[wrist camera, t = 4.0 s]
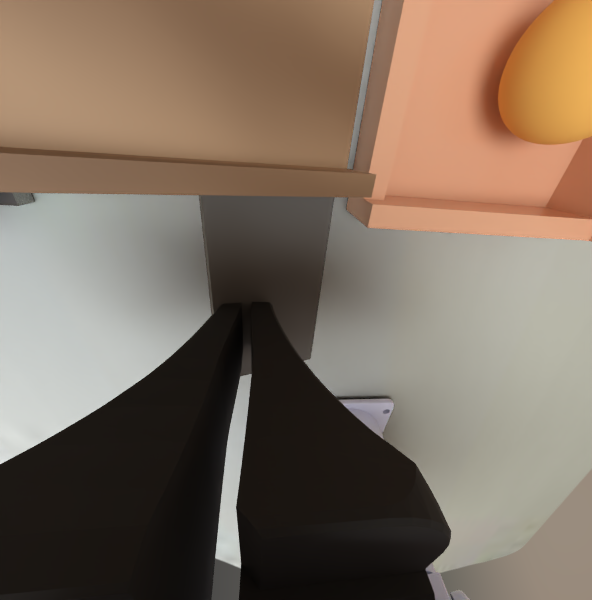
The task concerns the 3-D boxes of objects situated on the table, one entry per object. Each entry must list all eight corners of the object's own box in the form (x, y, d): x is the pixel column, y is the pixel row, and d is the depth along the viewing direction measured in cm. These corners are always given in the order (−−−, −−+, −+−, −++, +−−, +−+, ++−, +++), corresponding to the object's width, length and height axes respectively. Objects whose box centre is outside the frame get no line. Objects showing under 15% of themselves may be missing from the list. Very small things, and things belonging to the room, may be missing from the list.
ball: (660, 146, 6) (475, 136, 8) (606, 151, 9) (478, 143, 11) (858, -137, 4) (550, -67, 6) (705, -13, 7) (529, 9, 9)
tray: (539, 222, 13) (672, 260, 9) (346, 209, 12) (390, 246, 7) (725, -112, 8) (1278, -422, 4) (415, -193, 7) (684, -811, 2)
